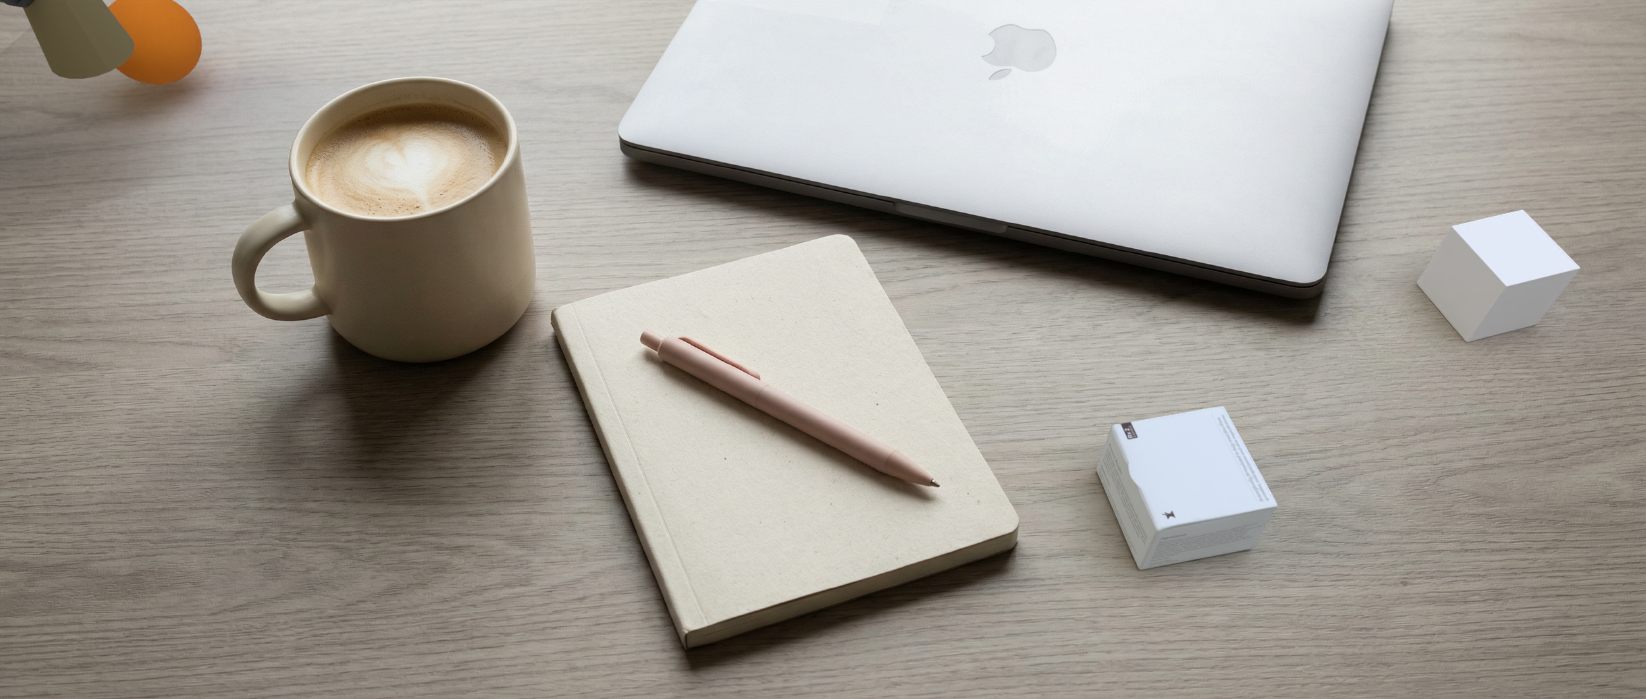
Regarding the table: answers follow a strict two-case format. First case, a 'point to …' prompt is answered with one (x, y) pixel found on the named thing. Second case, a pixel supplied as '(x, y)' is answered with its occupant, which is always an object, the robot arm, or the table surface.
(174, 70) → the orange
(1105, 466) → the small box
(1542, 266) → the white cube
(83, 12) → the olive pawn
